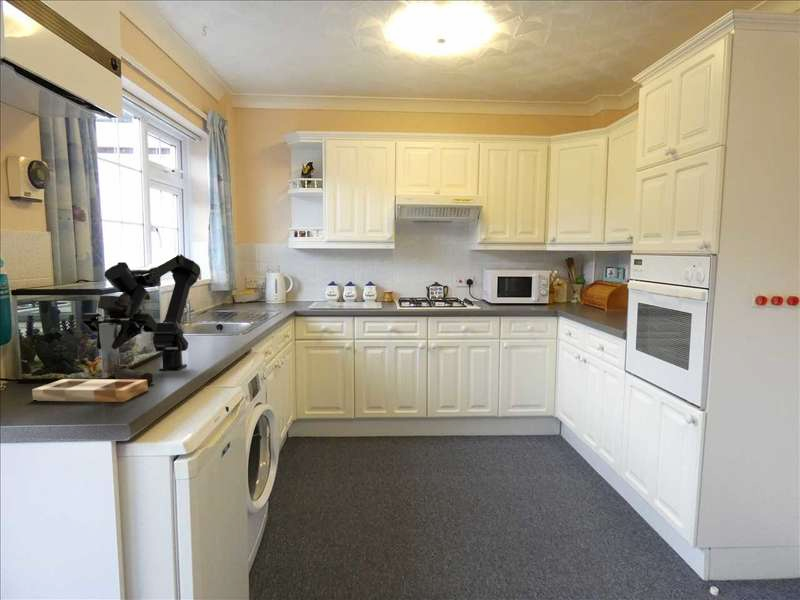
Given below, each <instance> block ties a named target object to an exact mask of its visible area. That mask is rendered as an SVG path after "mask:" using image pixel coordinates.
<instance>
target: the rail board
mask: <svg viewBox="0 0 800 600" xmlns="http://www.w3.org/2000/svg"><path fill="white" fill-rule="evenodd" d="M147 391H149V385H148V383H147V380H124V379H123V380H120V379H116V378H114V379H112V378H111V379H104V378H102V379H101V378H86V379H85V378H62V379H59V380H57V381H53V382H51V383H48V384H44V385H42V386H38V387H35V388H33V389H32V390H31V394H32V401H33V400H37V401H38V402H40V401H41V402H44V401H46V402H47V401H49V402H100V403H101V402H108V403H109V402H113V403H114V402H115V403H117V402H118V403H119V402H120V403H121V402H126V401H128V400H130V399H132V397H133V398H135V397H137V396H138V395H141V394H143V393H145V392H147ZM134 396H135V397H134ZM37 401H36V402H37Z"/></svg>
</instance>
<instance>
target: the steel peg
mask: <svg viewBox="0 0 800 600" xmlns="http://www.w3.org/2000/svg"><path fill="white" fill-rule="evenodd" d="M99 334H100V346H101V349H100V354H101V355H100V356H101V357H100V358H101V368H102V374H113V373H114V372H118V371H120V364H121V363H120V361H121V359H120V351H119V350H120V349H119V348H120V347H118V348H117V349H114V348H113V344H114V342H115V340H116V338H117V336H118V334H119V333H118V326H117V323H103V324H99Z"/></svg>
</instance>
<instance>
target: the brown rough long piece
mask: <svg viewBox="0 0 800 600" xmlns="http://www.w3.org/2000/svg"><path fill="white" fill-rule="evenodd" d="M127 367H128V366H127V365H124V364H121V363H120V371H118V372H114V373H112V375H113V374H114V376H115V378H114V379H120V380H147V383H148V386H149V385H151V384H152V383H153V377H154V374H153V373H151V372H144V371H141V370H134V369H130V368H127ZM114 376H113V377H114Z"/></svg>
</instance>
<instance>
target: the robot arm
mask: <svg viewBox="0 0 800 600" xmlns="http://www.w3.org/2000/svg"><path fill="white" fill-rule="evenodd" d="M169 272H171V273H172V274H171V276H172V278H173V281H174V285H173V289H172V293H171V296H170V299H169V304H168V307H167V311H166V314H165V318H164V320H163V321H162V322H156V320H155V319H154V318H153V317H152V315H151V314H150V313H148V312H145V313H144V312H143V311H142V310H141V307H142V305H143V302H144V301H149V300H151V296H150V294H149V291H148V290H146V288H154V287H156V286H157V285H158V284H159V283H160V282H161V280H162V279H161V277H163V276H164V275H166V274H168V273H169ZM200 275H201V268H200V266H199V264H197V263H196V262H195V261H194V260H193V259H192V260H191V259H189V258H187V257H185V256H184V255H183V254H181V253H167V254H166V255H165V256H163V257H162V258H160V259H158V260H156V261H155V262H153V263H151V264H148V265H146V266H145V265H144V266H138V267H133V268H130V267H129V265H128V264H127V263H126V261H125V262H124V261H123V262H119V261H118V263H116V265H113V266H111V267H109V268H108V269H106V270H105V272H104V278H105V279H106V280H107V281H108V282H109V283H110V284H111V286H112V287H113V288H114V289H115V291H117V292H118V293H122V294H119V295H100V296H99V299H98V302H97V303H98V304H97V309H102V310H104V311H105V312H104V314H105V315H106V316H109V317H106V316H102V315H101V314H100V313H97V312H96V313H90V312H89V313H83V315H82V316H81V318H80V320H79V321H80V323H82V325H84V326H85V327H86V328H87V329H88V331H90V333H91V332H92V333H97V337H96V348H97V350H101V346H100V334H99V324H103V323H117V327H120V330H119V332H118V333H117V334H118V336H117V338H116V340H115V342H114V344H113V348H114V349H117V348H118V347H119V348H120V347H121V346H123V345H124V344H126V343H127V342H128V341H130V340H132V339H133V338H135V337H136V336H138V335H142V330H143V331H144V333H152V334H153V336H152V343H153V346H154V349H155V352H161V359H162V360H161V361H162V362H161V363H162V367H160V368H158V371H178V370H181V369H182V368H185V367H187V366H188V364H186V363H183V351H187V349H188V347H189V342H188V341H187V340H186V338H185V336H184V330H183V328H182V325H181V323H182V320H183V315H184V311H185V308H186V304H187V300H188V297H189V292H190V289H191V287H192V286H193V285H194V284H196V283H197V281H198V279H199V276H200ZM142 312H143V313H142Z"/></svg>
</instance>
